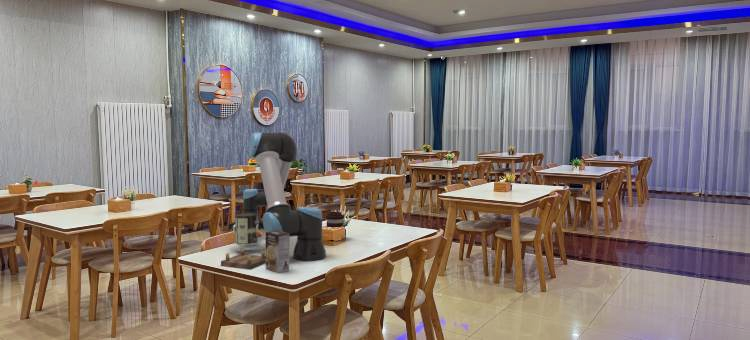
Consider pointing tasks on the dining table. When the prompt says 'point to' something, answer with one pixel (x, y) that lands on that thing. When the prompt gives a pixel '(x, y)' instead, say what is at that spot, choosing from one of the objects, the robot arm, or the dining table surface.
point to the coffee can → (246, 228)
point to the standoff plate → (244, 260)
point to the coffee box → (277, 251)
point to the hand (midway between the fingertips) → (245, 229)
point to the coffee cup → (334, 219)
